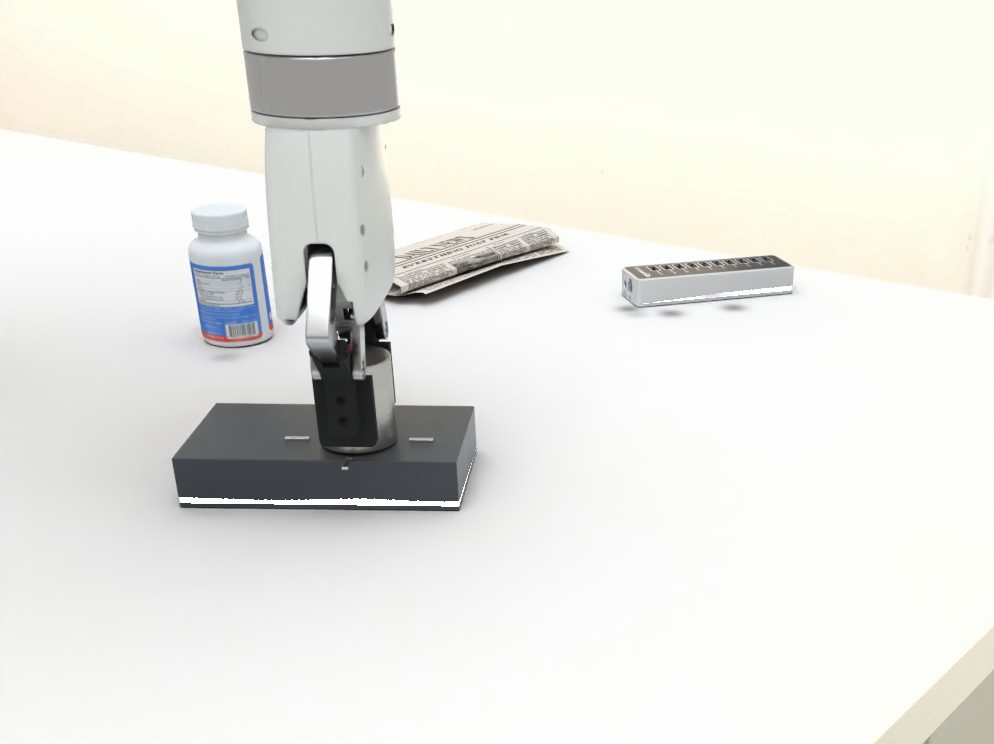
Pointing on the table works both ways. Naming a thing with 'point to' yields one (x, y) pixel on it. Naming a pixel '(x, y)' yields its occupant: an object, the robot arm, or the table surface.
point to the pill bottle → (229, 277)
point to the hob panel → (324, 458)
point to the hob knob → (378, 401)
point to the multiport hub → (704, 279)
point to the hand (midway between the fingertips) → (359, 422)
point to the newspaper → (468, 255)
